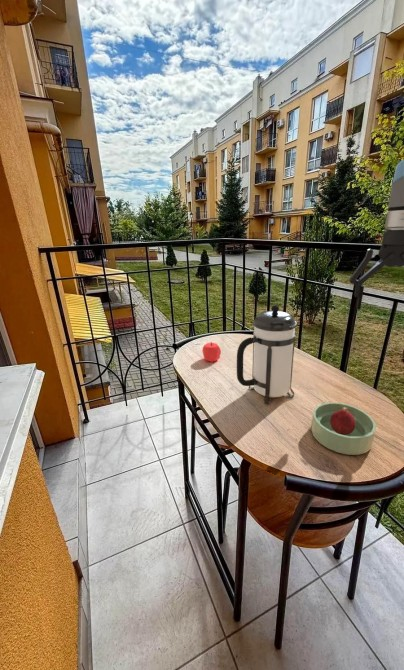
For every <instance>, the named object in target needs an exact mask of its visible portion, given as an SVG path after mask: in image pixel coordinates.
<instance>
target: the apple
mask: <svg viewBox="0 0 404 670" xmlns="http://www.w3.org/2000/svg"><path fill="white" fill-rule="evenodd" d="M201 349H202V350H201V353H202V356H203V359H204V360H205V361H207V362H209V361H210V363H214V362H216V361H218V360H219V359H220V358H221V354H222V350H221V348H220V345H218V343H216V342H212V341H210V342H207V343H205V344H204V345H203V347H202V348H201ZM213 361H214V362H213Z"/></svg>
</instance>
